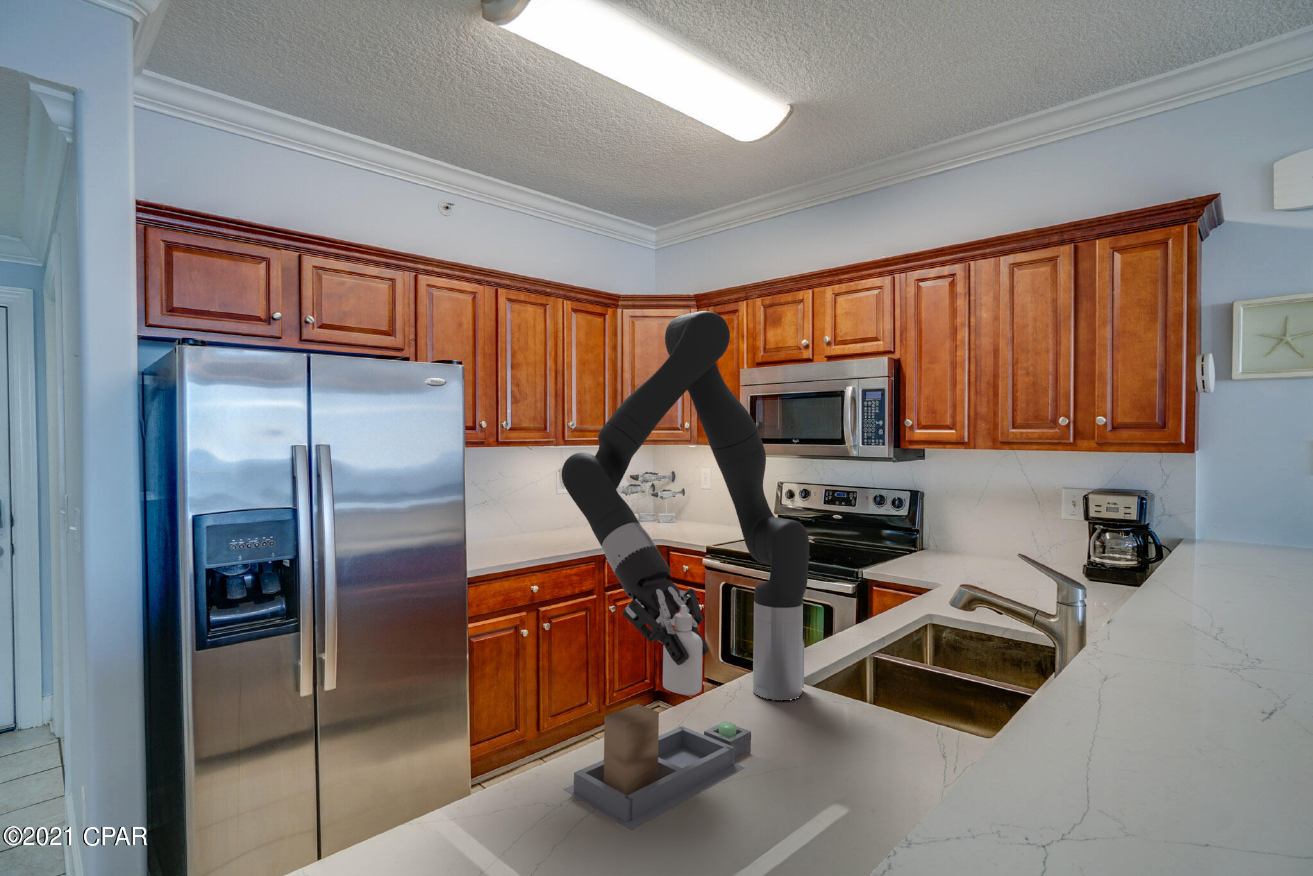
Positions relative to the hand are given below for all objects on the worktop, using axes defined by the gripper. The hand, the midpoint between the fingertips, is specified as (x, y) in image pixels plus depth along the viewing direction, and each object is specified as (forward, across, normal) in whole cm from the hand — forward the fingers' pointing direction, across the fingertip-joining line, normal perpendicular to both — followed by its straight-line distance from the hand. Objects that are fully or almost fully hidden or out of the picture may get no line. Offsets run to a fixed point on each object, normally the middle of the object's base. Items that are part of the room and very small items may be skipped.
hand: (693, 657), depth 93 cm
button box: (+12, +9, +13) cm, 19 cm away
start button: (+10, +9, +11) cm, 18 cm away
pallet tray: (+11, -5, +13) cm, 18 cm away
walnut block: (+10, -10, +12) cm, 19 cm away
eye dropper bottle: (+2, 0, +5) cm, 6 cm away
